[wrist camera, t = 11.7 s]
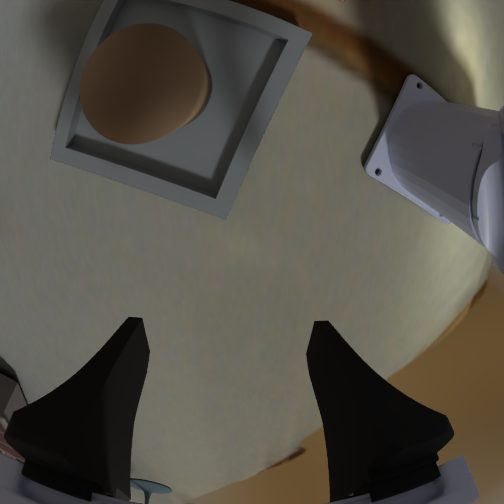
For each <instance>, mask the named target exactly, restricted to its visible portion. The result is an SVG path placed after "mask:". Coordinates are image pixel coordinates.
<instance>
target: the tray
mask: <svg viewBox="0 0 504 504" xmlns="http://www.w3.org/2000/svg"><path fill="white" fill-rule="evenodd" d="M143 23H154V24H160V25H164V26H167V27H170V28H172V29H174V30H176V31H177V32H179V33H180V34H182V35H183V36H184V37H185V38H186V39H187V40H188V41H189V42H190V43H191V45H192V46H193V47H194V49H195V50H196V51H197V53H198V54H199V55H200V57H201V58H202V60H203V61H204V62H205V64H206V65H207V67H208V69H209V71H210V74H211V78H212V93H211V97H210V100H209V102H208V104H207V106H206V108H205V109H204V111H203V112H202V113H201V114H200V115H199V116H198V117H197V118H196V119H195V120H194V121H192V122H191V123H189V124H187V125H185V126H183V127H181V128H179V129H177V130H175V131H173V132H171V133H169V134H167V135H165V136H163V137H161V138H159V139H157V140H154V141H151V142H148V143H143V144H133V145H129V144H121V143H117V142H114V141H111V140H109V139H107V138H105V137H104V136H102V135H101V134H99V133H98V132H97V131H96V130H95V129H94V128H93V127H92V126H91V125H90V123H89V122H88V120H87V119H86V117H85V115H84V112H83V109H82V106H81V102H80V82H81V76H82V73H83V70H84V67H85V65H86V63H87V61H88V59H89V57H90V56H91V54H92V53H93V52H94V50H95V49H96V48H97V47H98V46H99V45H100V44H101V43H102V42H103V41H104V40H105V39H106V38H107V37H109V36H110V35H112V34H113V33H115V32H117V31H119V30H121V29H123V28H126V27H128V26H132V25H136V24H143ZM311 36H312V33H310V32H308V31H306V30H304V29H302V28H299V27H297V26H295V25H293V24H291V23H288V22H286V21H284V20H281V19H279V18H276V17H274V16H272V15H269V14H267V13H264V12H261V11H259V10H256V9H253V8H250V7H248V6H245V5H242V4H239V3H236V2H233V1H230V0H103V2H102V4H101V6H100V8H99V10H98V12H97V14H96V16H95V18H94V20H93V23H92V25H91V27H90V29H89V32H88V34H87V36H86V39H85V41H84V43H83V46H82V48H81V51H80V54H79V56H78V59H77V62H76V64H75V67H74V70H73V73H72V76H71V79H70V82H69V85H68V88H67V91H66V95H65V98H64V101H63V105H62V109H61V112H60V116H59V120H58V124H57V128H56V133H55V137H54V142H53V147H52V152H51V157H50V159H52V160H55V161H58V162H61V163H64V164H67V165H70V166H73V167H76V168H79V169H82V170H85V171H88V172H91V173H94V174H97V175H100V176H103V177H106V178H108V179H111V180H114V181H117V182H120V183H123V184H126V185H129V186H132V187H135V188H137V189H140V190H143V191H146V192H149V193H152V194H155V195H157V196H160V197H163V198H166V199H169V200H172V201H174V202H177V203H180V204H183V205H186V206H188V207H191V208H194V209H197V210H199V211H202V212H205V213H208V214H211V215H213V216H216V217H219V218H221V219H224V220H226V218H227V216H228V213H229V211H230V209H231V207H232V204H233V202H234V200H235V197H236V195H237V193H238V190H239V188H240V186H241V184H242V181H243V179H244V177H245V175H246V172H247V170H248V168H249V166H250V163H251V161H252V159H253V157H254V154H255V152H256V150H257V148H258V146H259V143H260V141H261V139H262V137H263V135H264V133H265V130H266V128H267V126H268V124H269V122H270V120H271V118H272V115H273V113H274V111H275V109H276V107H277V105H278V103H279V101H280V98H281V96H282V94H283V92H284V90H285V88H286V86H287V84H288V82H289V80H290V78H291V76H292V74H293V72H294V70H295V68H296V66H297V64H298V62H299V60H300V58H301V56H302V54H303V52H304V50H305V48H306V46H307V44H308V42H309V40H310V38H311Z"/></svg>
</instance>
